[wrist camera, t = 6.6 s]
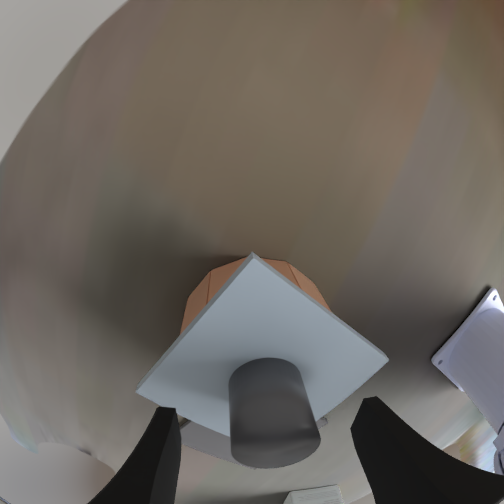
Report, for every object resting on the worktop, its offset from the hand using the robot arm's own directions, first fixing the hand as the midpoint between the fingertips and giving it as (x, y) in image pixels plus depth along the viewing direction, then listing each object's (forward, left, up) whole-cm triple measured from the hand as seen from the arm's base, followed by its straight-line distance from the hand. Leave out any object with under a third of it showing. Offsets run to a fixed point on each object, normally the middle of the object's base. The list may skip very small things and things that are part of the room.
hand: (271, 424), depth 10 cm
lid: (0, 0, -3) cm, 3 cm away
